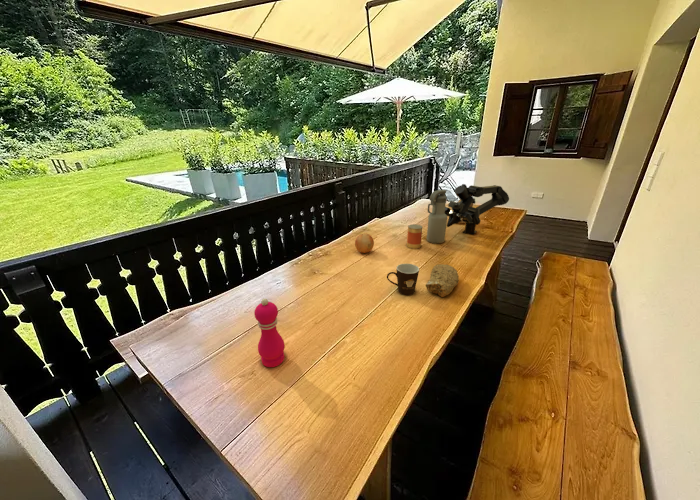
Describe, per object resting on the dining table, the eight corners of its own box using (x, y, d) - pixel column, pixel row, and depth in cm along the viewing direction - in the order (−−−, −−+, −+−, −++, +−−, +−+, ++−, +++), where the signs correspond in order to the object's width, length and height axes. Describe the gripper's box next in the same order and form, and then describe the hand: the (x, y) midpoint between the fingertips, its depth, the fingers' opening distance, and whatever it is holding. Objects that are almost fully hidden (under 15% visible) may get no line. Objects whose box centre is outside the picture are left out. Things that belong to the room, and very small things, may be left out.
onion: (364, 257, 148) (364, 238, 144) (350, 251, 155) (350, 233, 151) (377, 252, 154) (378, 233, 150) (364, 246, 161) (364, 229, 157)
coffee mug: (418, 287, 120) (420, 265, 117) (415, 298, 113) (417, 274, 109) (390, 283, 124) (391, 261, 120) (385, 293, 117) (386, 270, 113)
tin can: (410, 242, 166) (411, 223, 161) (423, 245, 161) (424, 225, 157) (404, 246, 160) (405, 227, 156) (417, 249, 156) (418, 229, 152)
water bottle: (434, 245, 161) (439, 193, 150) (422, 239, 169) (426, 190, 158) (448, 241, 165) (454, 191, 154) (436, 236, 173) (440, 188, 162)
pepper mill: (262, 351, 88) (253, 292, 80) (287, 349, 89) (280, 290, 81) (257, 369, 81) (246, 307, 74) (284, 367, 82) (276, 305, 74)
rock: (450, 303, 112) (468, 273, 124) (447, 286, 108) (466, 257, 121) (418, 297, 120) (438, 270, 133) (414, 281, 117) (435, 255, 130)
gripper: (445, 192, 171) (429, 214, 171) (471, 199, 156) (453, 222, 156) (454, 204, 178) (438, 225, 177) (479, 211, 163) (462, 234, 162)
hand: (447, 226), depth 168 cm, fingers closed
